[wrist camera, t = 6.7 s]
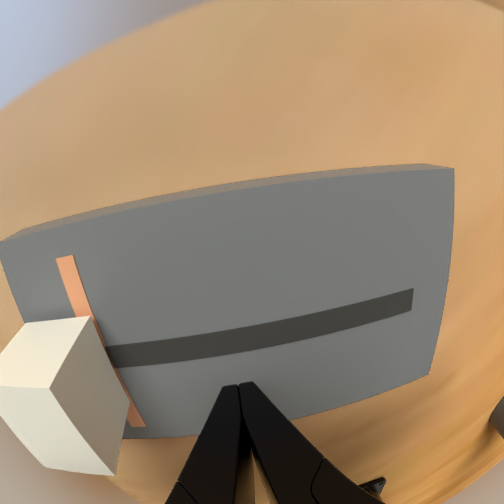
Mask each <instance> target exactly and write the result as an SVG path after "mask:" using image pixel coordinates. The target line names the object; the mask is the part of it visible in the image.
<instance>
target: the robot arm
mask: <svg viewBox="0 0 504 504" xmlns="http://www.w3.org/2000/svg"><path fill="white" fill-rule="evenodd" d="M251 449H252V450H251ZM252 453H253V456H254V459H255V462H256V465H257V468H258V471H259V473H260V476H261V479H262V481H263V484H264V487H265V489H266V492H267V494H268V497H269V500H270V502H271V504H385V503H384V502H382V500H381V498H380V493H381V491H382V489H383V487H384V485H385V483H386V479H385V478H380V479H378V480H375V481H373V482H370V483H367V484H365V485H362V486H358V485H356V484H355V483H354V482H352V481H351V480H350V479H348V478H347V477H346V476H345V475H344V474H343V473H341V472H340V471H339V470H338V469H337V468H336V467H335V466H334V465H333V464H332V463H331V462H330V461H328V460H327V459H326V458H324V456H323V455H322V454H321V453H320V452H319V451H318V450H317V449H316V448H315V447H314V446H313V445H312V444H311V443H310V442H309V441H308V440H307V439H306V438H305V437H304V436H303V435H302V434H301V433H300V432H299V431H298V429H297V428H296V427H295V426H294V425H293V424H292V423H291V422H290V421H289V420H288V419H287V418H286V417H285V416H284V415H283V414H282V413H281V411H280V410H279V409H278V408H277V407H276V406H275V405H274V404H273V403H272V402H271V401H270V399H269V398H268V397H267V396H266V395H265V394H264V393H263V392H262V390H261V389H260V388H259V387H258V386H257V385H256V384H255V383H254V382H253V381H250V382H244V383H240V384H239V385H237V384H232V385H226V386H223V387H222V388H221V391H220V393H219V395H218V397H217V399H216V401H215V403H214V405H213V408H212V410H211V412H210V414H209V416H208V418H207V420H206V422H205V424H204V427H203V429H202V431H201V433H200V435H199V437H198V439H197V441H196V443H195V445H194V447H193V449H192V451H191V453H190V455H189V458H188V460H187V462H186V464H185V466H184V468H183V470H182V472H181V474H180V476H179V478H178V482H176V483H175V485H174V487H173V489H172V491H171V493H170V495H169V497H168V499H167V501H166V502H165V504H255V490H254V472H253V457H252Z"/></svg>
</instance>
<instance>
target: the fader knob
mask: <svg viewBox="0 0 504 504" xmlns="http://www.w3.org/2000/svg"><path fill="white" fill-rule="evenodd" d="M129 404H130V401H129V399H128V397H127V395H126V393H125V391H124V389H123V387H122V385H121V383H120V381H119V379H118V377H117V375H116V373H115V371H114V369H113V367H112V365H111V363H110V361H109V358H108V356H107V354H106V352H105V349H104V347H103V345H102V343H101V340H100V338H99V336H98V333H97V331H96V328H95V326H94V323H93V321H92V318H91V316H83V317H75V318H66V319H58V320H49V321H40V322H30V323H25V324H24V326H23V327H22V328H21V329H20V330H19V332H18V333H17V334H16V335H15V336H14V338H13V339H12V340H11V341H10V343H9V344H8V345H7V346H6V348H5V349H4V350H3V351H2V353H1V354H0V416H1V417H2V418H3V420H4V421H5V422H6V423H7V425H8V426H9V427H10V429H11V430H12V431H13V432H14V433H15V435H16V436H17V437H18V438H19V440H20V441H21V442H22V443H23V444H24V445H25V446H26V447H27V449H28V450H29V451H30V452H31V453H32V454H33V455H34V456H35V458H36V459H37V460H38V461H39V462H40V463H41V464H42V465H43V466H44V467H47V468H53V469H58V470H65V471H71V472H79V473H87V474H97V475H109V476H115V474H116V468H117V462H118V457H119V452H120V446H121V441H122V436H123V432H124V427H125V422H126V418H127V413H128V409H129Z"/></svg>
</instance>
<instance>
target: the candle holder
mask: <svg viewBox="0 0 504 504" xmlns="http://www.w3.org/2000/svg"><path fill="white" fill-rule="evenodd" d="M489 421H490V423H491V424H492V425H493V427H494V428H495V429H496V430H497V431H498V433H499V434H500V435H501V436H502V437H503V438H504V397H503V398H502V399H501V401H500V402H499V403H498V405H497V406H496V408H495V409H494V411H493V412H492V414H491V416H490V419H489Z"/></svg>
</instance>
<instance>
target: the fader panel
mask: <svg viewBox="0 0 504 504" xmlns="http://www.w3.org/2000/svg"><path fill="white" fill-rule="evenodd" d="M453 223H454V168H448V167H442V166H436V165H429V164H407V165H390V166H375V167H362V168H350V169H339V170H329V171H319V172H310V173H301V174H293V175H285V176H277V177H270V178H262V179H255V180H248V181H242V182H235V183H229V184H223V185H217V186H211V187H205V188H199V189H193V190H188V191H182V192H177V193H172V194H167V195H161V196H156V197H152V198H147V199H142V200H137V201H133V202H128V203H123V204H119V205H115V206H110V207H106V208H102V209H97V210H93V211H89V212H85V213H81V214H77V215H73V216H69V217H66V218H62V219H58V220H54V221H51V222H47V223H43V224H40V225H36V226H33V227H29V228H26V229H23V230H21V231H19V232H17V233H15V234H13V235H11V236H9V237H8V238H6V239H4V240H2V241H0V260H1V263H2V266H3V269H4V272H5V275H6V278H7V280H8V283H9V286H10V289H11V291H12V294H13V297H14V299H15V302H16V304H17V307H18V309H19V311H20V314H21V316H22V318H23V321H24V323H30V322H40V321H49V320H58V319H66V318H75V317H83V316H91V318H92V321H93V323H94V326H95V328H96V331H97V333H98V336H99V338H100V340H101V343H102V345H103V347H104V349H105V352H106V354H107V356H108V358H109V361H110V363H111V365H112V367H113V369H114V371H115V373H116V375H117V377H118V379H119V381H120V383H121V385H122V387H123V389H124V391H125V393H126V395H127V397H128V399H129V401H130V404H129V409H128V413H127V418H126V422H125V427H124V432H123V436H122V439H148V438H169V437H183V436H194V435H200V433H201V431H202V429H203V427H204V424H205V422H206V420H207V418H208V416H209V414H210V412H211V410H212V408H213V405H214V403H215V401H216V399H217V397H218V395H219V393H220V391H221V388H222V387H223V386H226V385H232V384H237V385H239V384H240V383H244V382H250V381H253V382H254V383H255V384H256V385H257V386H258V387H259V388H260V389H261V390H262V392H263V393H264V394H265V395H266V396H267V397H268V398H269V399H270V401H271V402H272V403H273V404H274V405H275V406H276V407H277V408H278V409H279V410H280V411H281V413H282V414H283V415H284V416H285V417H286V418H287V419H288V420H292V419H296V418H300V417H305V416H309V415H312V414H316V413H320V412H324V411H327V410H331V409H334V408H338V407H341V406H344V405H348V404H351V403H354V402H357V401H360V400H363V399H366V398H369V397H372V396H375V395H378V394H381V393H383V392H386V391H389V390H391V389H394V388H397V387H399V386H402V385H404V384H407V383H409V382H412V381H414V380H417V379H419V378H421V377H424V376H426V375H428V374H429V371H430V367H431V363H432V360H433V356H434V352H435V348H436V343H437V339H438V334H439V330H440V325H441V320H442V315H443V309H444V304H445V298H446V291H447V285H448V277H449V269H450V261H451V250H452V238H453Z"/></svg>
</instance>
